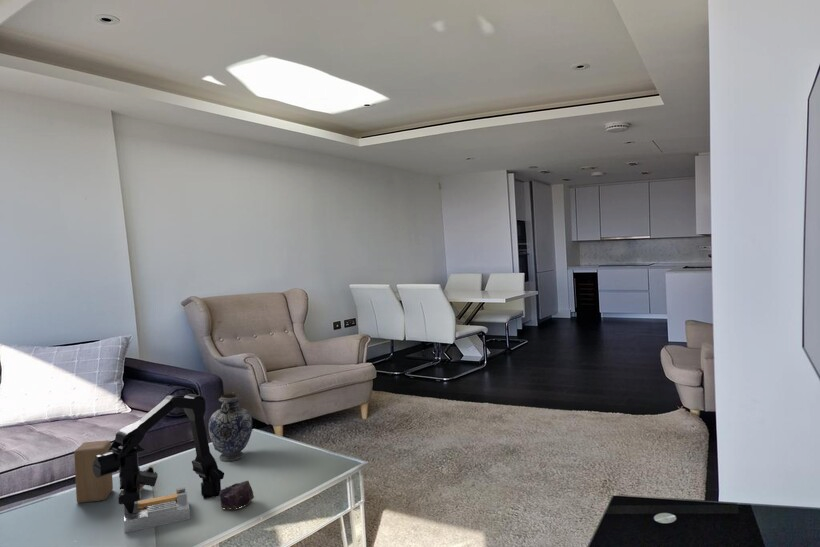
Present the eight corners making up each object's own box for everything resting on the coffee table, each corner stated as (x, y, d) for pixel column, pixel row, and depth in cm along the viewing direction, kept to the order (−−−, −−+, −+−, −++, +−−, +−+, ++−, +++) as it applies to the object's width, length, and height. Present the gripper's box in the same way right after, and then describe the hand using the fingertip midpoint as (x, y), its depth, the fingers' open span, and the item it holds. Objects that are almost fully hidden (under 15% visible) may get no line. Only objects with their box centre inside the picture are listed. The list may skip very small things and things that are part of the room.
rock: (221, 508, 202) (225, 519, 193) (216, 485, 201) (220, 496, 192) (253, 496, 207) (258, 506, 198) (248, 474, 207) (254, 483, 198)
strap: (183, 495, 200) (183, 491, 200) (183, 499, 198) (183, 495, 198) (125, 507, 192) (124, 503, 192) (124, 510, 190) (124, 506, 190)
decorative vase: (215, 449, 258) (214, 389, 257) (256, 447, 260) (255, 388, 259) (203, 467, 237) (202, 402, 236) (248, 465, 239) (247, 401, 238)
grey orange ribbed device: (187, 502, 204) (186, 485, 204) (189, 519, 192) (189, 500, 191) (125, 514, 196) (125, 496, 196) (124, 532, 183) (123, 513, 183)
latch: (137, 505, 194) (137, 496, 194) (137, 512, 189) (137, 503, 188) (125, 507, 192) (124, 499, 192) (124, 515, 187) (124, 506, 187)
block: (85, 492, 215) (83, 441, 214) (113, 489, 217) (111, 439, 216) (75, 504, 205) (73, 450, 204) (105, 501, 207) (102, 448, 206)
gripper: (155, 472, 181) (158, 519, 181) (154, 453, 198) (156, 497, 198) (117, 479, 176) (119, 527, 177) (119, 459, 193) (121, 503, 193)
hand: (131, 513), depth 186 cm, fingers closed
